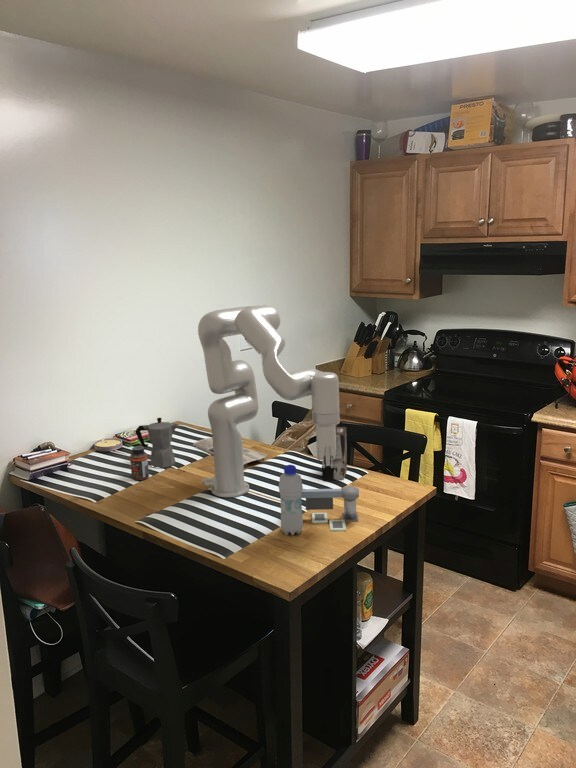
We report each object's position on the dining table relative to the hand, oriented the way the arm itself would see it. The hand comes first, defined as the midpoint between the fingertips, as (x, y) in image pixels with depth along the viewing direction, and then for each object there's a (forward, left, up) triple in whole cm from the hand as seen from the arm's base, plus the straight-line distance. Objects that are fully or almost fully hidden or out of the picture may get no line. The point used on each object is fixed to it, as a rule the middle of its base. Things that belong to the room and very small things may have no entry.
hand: (328, 479), depth 175 cm
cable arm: (-1, +5, -12) cm, 13 cm away
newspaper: (-35, +63, -15) cm, 73 cm away
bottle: (-11, -3, -15) cm, 18 cm away
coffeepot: (-60, +52, -15) cm, 81 cm away
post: (+7, +5, -15) cm, 17 cm away
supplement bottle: (-64, +39, -15) cm, 77 cm away
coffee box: (+5, +39, -15) cm, 42 cm away
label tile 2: (+3, 0, -15) cm, 15 cm away
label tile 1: (-2, +5, -15) cm, 16 cm away
